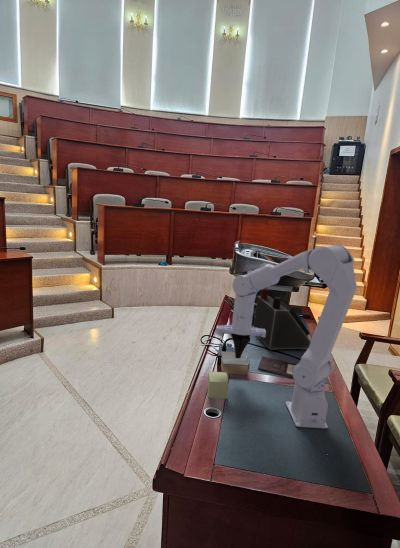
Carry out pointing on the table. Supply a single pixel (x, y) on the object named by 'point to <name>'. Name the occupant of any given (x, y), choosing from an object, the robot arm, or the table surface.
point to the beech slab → (234, 363)
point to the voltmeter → (279, 324)
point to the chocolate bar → (276, 366)
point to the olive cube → (217, 385)
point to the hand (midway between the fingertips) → (237, 356)
